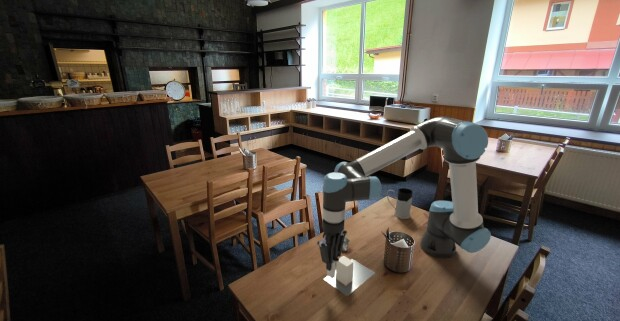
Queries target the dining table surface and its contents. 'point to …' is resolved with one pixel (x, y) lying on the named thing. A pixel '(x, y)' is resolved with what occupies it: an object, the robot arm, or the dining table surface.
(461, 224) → the robot arm
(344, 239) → the packaged food
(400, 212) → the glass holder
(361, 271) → the board
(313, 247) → the dining table surface
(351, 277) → the block
